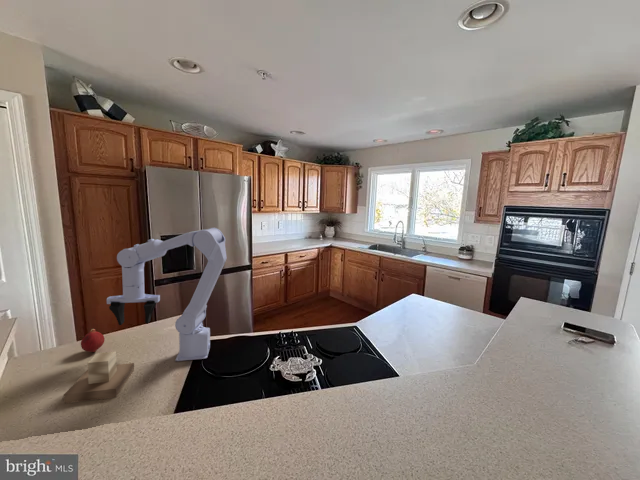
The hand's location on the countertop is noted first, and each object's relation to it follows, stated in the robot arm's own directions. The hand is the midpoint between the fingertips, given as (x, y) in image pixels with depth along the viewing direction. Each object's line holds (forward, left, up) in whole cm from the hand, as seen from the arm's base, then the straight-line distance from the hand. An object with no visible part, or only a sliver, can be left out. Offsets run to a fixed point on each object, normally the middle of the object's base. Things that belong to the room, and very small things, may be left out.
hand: (134, 323), depth 85 cm
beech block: (+2, +16, -8) cm, 18 cm away
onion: (+13, -2, -11) cm, 17 cm away
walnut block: (+2, +16, -11) cm, 20 cm away
